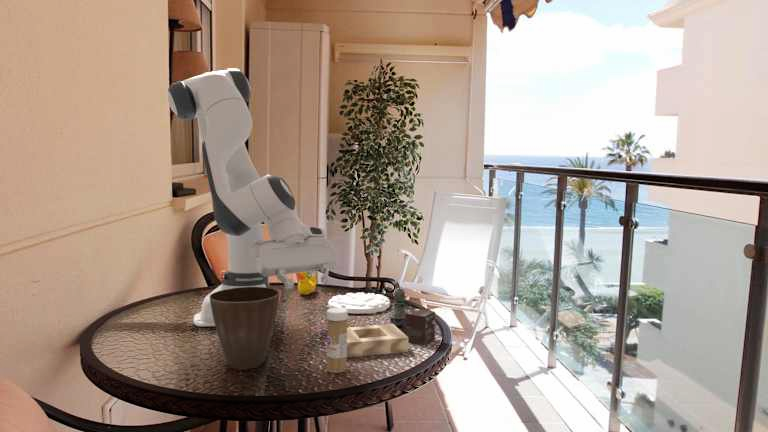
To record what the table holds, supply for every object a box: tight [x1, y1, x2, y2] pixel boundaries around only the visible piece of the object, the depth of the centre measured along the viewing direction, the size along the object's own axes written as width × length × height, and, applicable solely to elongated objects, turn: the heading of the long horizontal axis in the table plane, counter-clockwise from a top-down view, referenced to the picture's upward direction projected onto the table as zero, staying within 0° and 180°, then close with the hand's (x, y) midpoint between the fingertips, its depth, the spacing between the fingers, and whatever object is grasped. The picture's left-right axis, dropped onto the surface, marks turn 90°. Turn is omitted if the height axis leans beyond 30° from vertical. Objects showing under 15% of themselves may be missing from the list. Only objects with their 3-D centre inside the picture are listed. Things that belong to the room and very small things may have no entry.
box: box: [404, 308, 436, 345], centre depth 134 cm, size 6×6×7 cm
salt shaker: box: [388, 285, 406, 332], centre depth 143 cm, size 6×6×12 cm
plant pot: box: [210, 287, 280, 371], centre depth 115 cm, size 15×15×16 cm
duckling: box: [296, 271, 317, 296], centre depth 184 cm, size 11×5×10 cm, turn 160°
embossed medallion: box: [327, 291, 390, 315], centre depth 167 cm, size 20×20×3 cm
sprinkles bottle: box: [325, 308, 349, 374], centre depth 112 cm, size 5×5×13 cm
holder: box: [347, 323, 409, 358], centre depth 128 cm, size 16×12×4 cm
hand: (308, 284), depth 121 cm, fingers open, 8 cm apart
